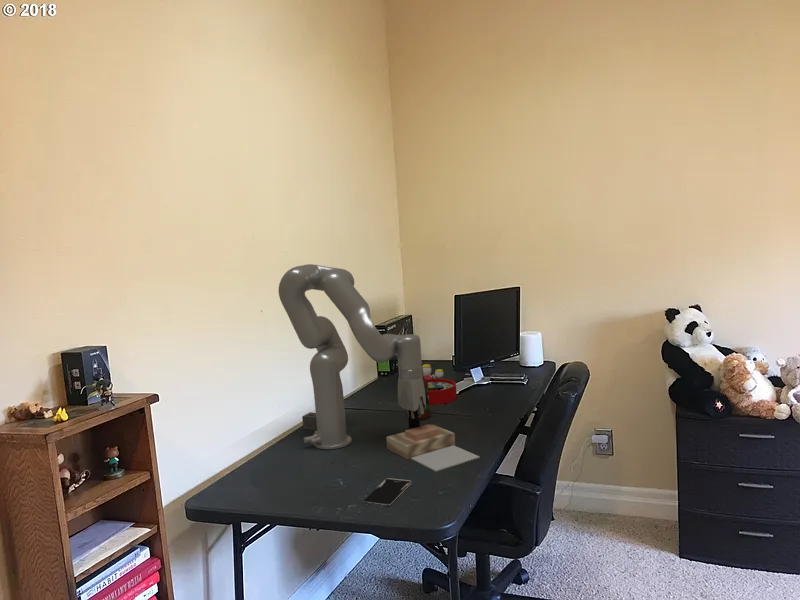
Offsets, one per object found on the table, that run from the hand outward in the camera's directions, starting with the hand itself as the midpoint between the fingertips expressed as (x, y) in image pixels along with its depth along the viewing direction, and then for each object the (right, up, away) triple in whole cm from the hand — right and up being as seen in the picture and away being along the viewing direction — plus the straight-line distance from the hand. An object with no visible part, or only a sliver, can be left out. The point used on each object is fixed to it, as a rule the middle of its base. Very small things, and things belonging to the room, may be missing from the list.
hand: (414, 429), depth 202 cm
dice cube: (-36, -5, +24) cm, 44 cm away
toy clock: (+8, +1, +53) cm, 54 cm away
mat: (+9, -6, -13) cm, 17 cm away
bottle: (+3, -2, +28) cm, 29 cm away
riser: (+2, -5, -2) cm, 6 cm away
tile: (+2, -1, -4) cm, 5 cm away
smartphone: (-8, -10, -35) cm, 38 cm away
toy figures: (+10, +4, +79) cm, 79 cm away
